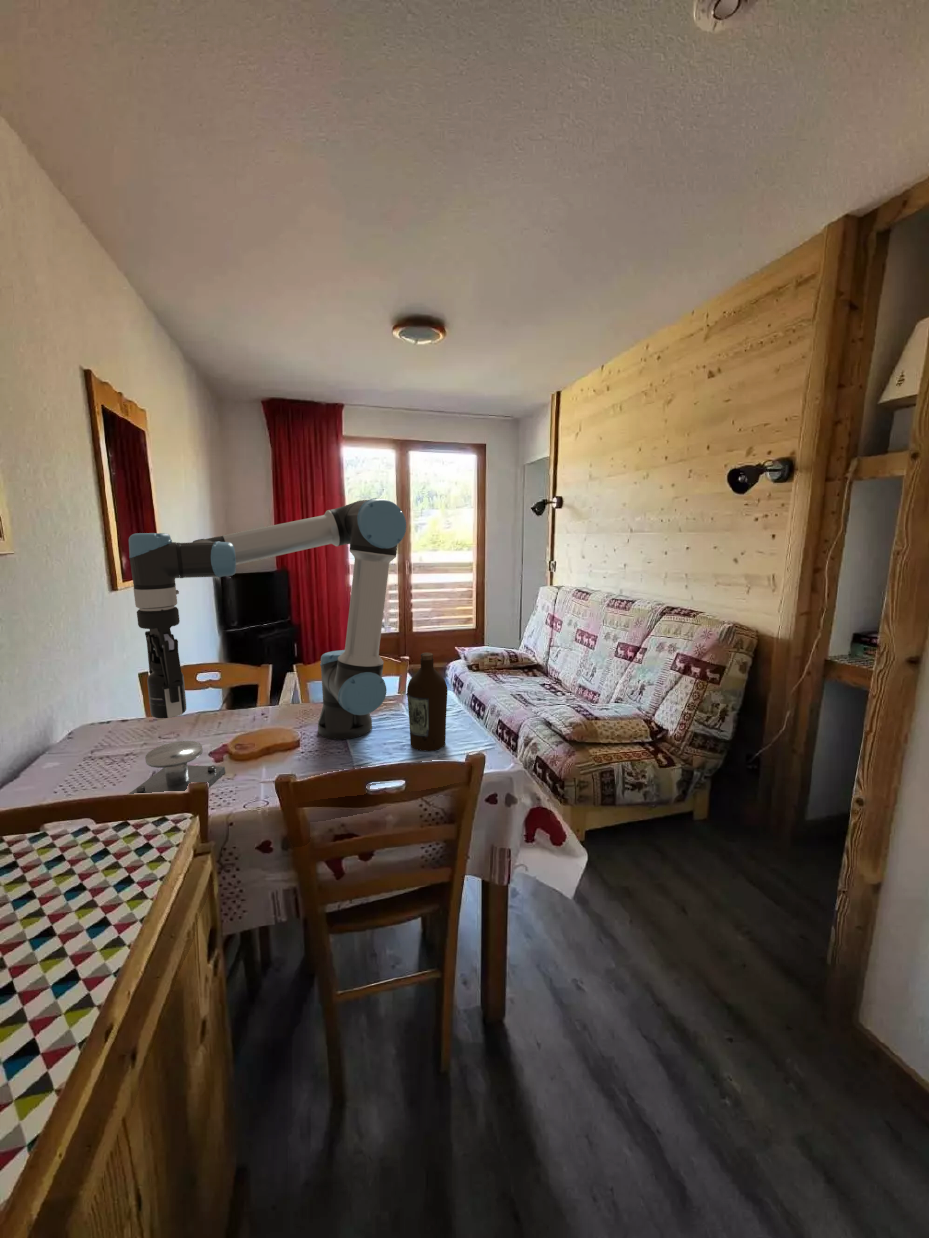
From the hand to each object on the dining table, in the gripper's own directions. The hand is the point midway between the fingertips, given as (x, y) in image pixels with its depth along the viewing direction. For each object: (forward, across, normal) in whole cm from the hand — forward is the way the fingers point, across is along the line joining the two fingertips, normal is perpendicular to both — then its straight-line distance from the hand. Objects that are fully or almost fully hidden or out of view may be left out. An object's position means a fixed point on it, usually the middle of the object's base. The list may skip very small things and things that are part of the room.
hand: (169, 711), depth 110 cm
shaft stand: (+18, 0, 0) cm, 18 cm away
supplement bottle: (+1, 0, 0) cm, 1 cm away
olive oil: (+18, -24, -54) cm, 62 cm away
